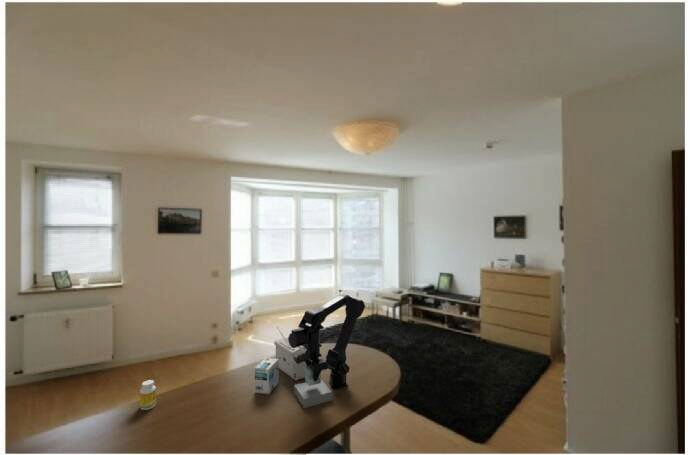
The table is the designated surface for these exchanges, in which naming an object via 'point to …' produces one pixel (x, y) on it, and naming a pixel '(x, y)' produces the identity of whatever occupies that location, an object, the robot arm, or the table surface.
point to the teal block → (311, 376)
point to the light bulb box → (266, 375)
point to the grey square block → (312, 393)
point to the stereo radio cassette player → (289, 359)
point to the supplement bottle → (147, 395)
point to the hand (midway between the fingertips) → (312, 378)
